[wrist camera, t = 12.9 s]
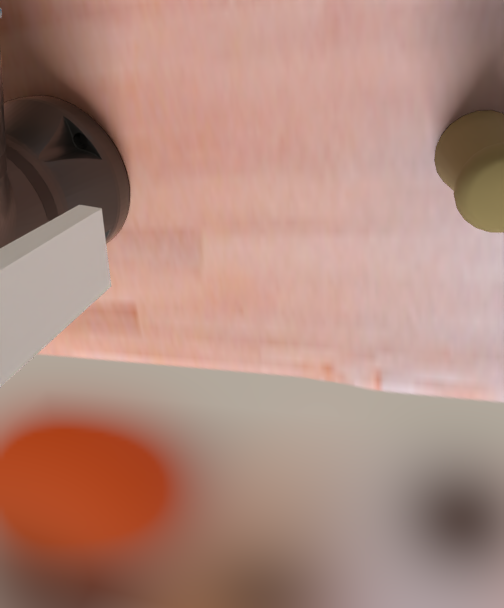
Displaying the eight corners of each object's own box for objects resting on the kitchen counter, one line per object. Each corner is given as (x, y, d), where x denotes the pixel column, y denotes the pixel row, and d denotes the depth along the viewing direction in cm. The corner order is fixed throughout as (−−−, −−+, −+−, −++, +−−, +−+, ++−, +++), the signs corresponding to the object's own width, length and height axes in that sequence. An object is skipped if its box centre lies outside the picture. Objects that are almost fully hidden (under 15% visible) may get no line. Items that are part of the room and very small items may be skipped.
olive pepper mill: (447, 105, 33) (469, 133, 24) (536, 115, 32) (595, 148, 23) (424, 186, 36) (436, 238, 27) (504, 197, 35) (544, 255, 26)
